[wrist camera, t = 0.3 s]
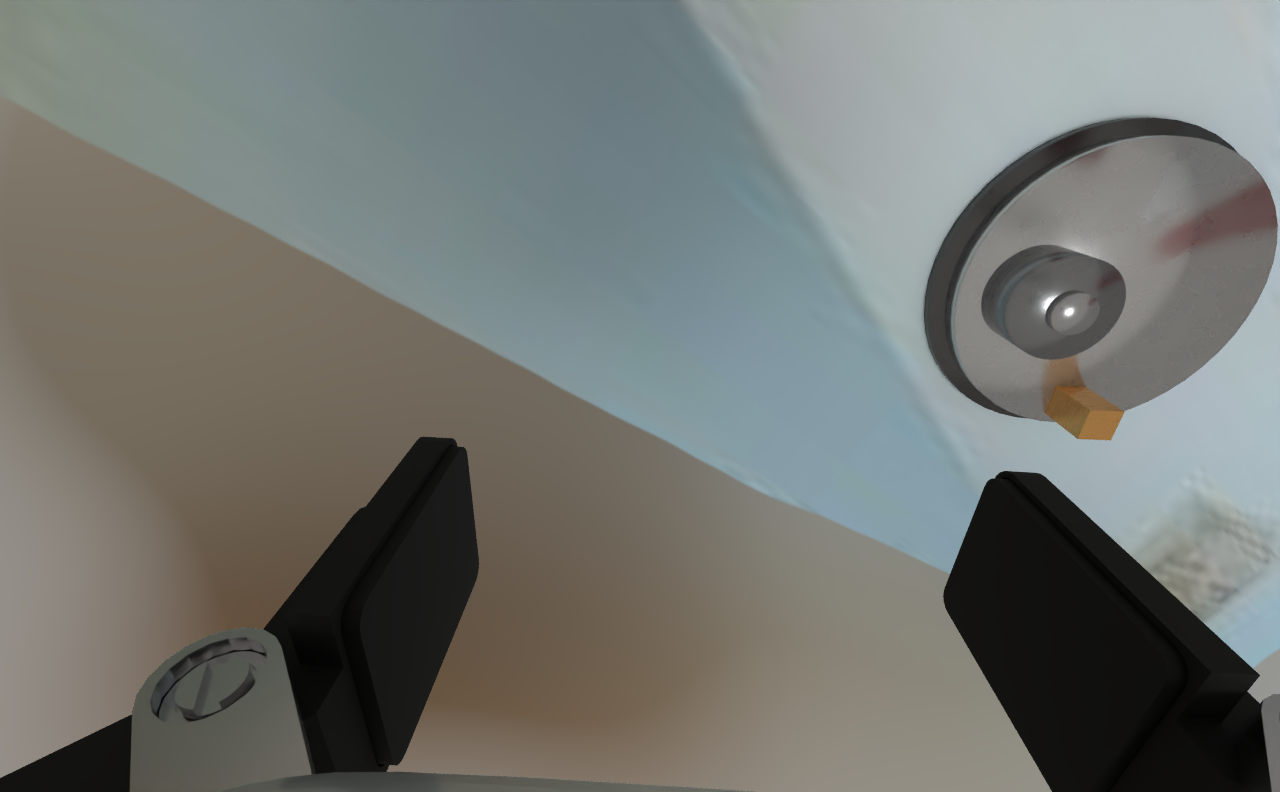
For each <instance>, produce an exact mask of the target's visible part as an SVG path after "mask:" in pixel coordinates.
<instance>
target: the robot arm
mask: <svg viewBox="0 0 1280 792" xmlns="http://www.w3.org/2000/svg"><path fill="white" fill-rule="evenodd" d="M478 569H479V557H478V549H477V539H476V531H475V521H474V512H473V503H472V494H471V484H470V475H469V466H468V457H467V451H466V449H465V448H464V447H457V443H456V441H455V440H454V439H453V438H436V437H420V438H419V439H418V440H417V441H416V443H415V444H414V445H413V447H412V448H411V449H410V450H409V452H408V453H407V454H406V456H405V457H404V458H403V459H402V461H401V462H400V463H399V464H398V466H397V467H396V468H395V470H394V471H393V472H392V473H391V475H390V476H389V477H388V479H387V480H386V481H385V482H384V484H383V485H382V486H381V488H380V489H379V490H378V492H377V493H376V494H375V496H374V497H373V498H372V499H371V501H370V502H369V503H368V504H367V506H366V507H364V508H361V509H359V511H357V512H356V513H355V514H354V515H353V517H352V518H351V519H350V520H349V522H348V523H347V524H346V525H345V527H344V528H343V529H342V530H341V532H340V533H339V534H338V535H337V537H336V538H335V539H334V541H333V542H332V543H331V544H330V546H329V547H328V548H327V549H326V551H325V552H324V553H323V554H322V556H321V557H320V558H319V560H318V561H317V562H316V563H315V565H314V566H313V567H312V568H311V570H310V571H309V572H308V574H307V575H306V576H305V577H304V578H303V580H302V581H301V582H300V584H299V585H298V586H297V587H296V589H295V590H294V591H293V592H292V594H291V595H290V596H289V598H288V599H287V600H286V601H285V602H284V604H283V605H282V606H281V608H280V609H279V610H278V611H277V613H276V614H275V615H274V616H273V618H272V619H271V620H270V621H269V623H268V624H267V625H266V627H265V628H264V629H263V630H262V629H255V628H239V629H230V630H226V631H222V632H219V633H216V634H213V635H209V636H207V637H204V638H202V639H201V640H198V641H196V642H194V643H192V644H190V645H188V646H186V647H184V648H183V649H182V650H180V651H179V652H177V653H176V654H174V655H173V656H171V657H170V658H169V659H167V660H166V661H165V662H164V663H162V664H161V665H160V666H159V667H158V668H157V669H156V670H155V671H154V672H153V673H152V674H151V675H150V676H149V677H148V678H147V680H146V681H145V683H144V684H143V686H142V688H141V689H140V690H139V692H138V693H137V695H136V699H135V703H134V707H133V710H132V715H130V716H128V717H126V718H124V719H122V720H119V721H118V722H115V723H113V724H111V725H109V726H107V727H105V728H103V729H101V730H99V731H97V732H95V733H93V734H91V735H88V736H86V737H84V738H83V739H80V740H78V741H76V742H74V743H72V744H70V745H68V746H66V747H64V748H62V749H59V750H57V751H55V752H53V753H51V754H49V755H47V756H45V757H43V758H41V759H39V760H37V761H35V762H33V763H31V764H28V765H26V766H25V767H22V768H20V769H18V770H16V771H14V772H12V773H10V774H8V775H6V776H4V777H2V778H0V792H753V791H738V790H737V791H736V790H722V789H708V788H691V787H675V786H659V785H642V784H626V783H625V784H624V783H609V782H593V781H577V780H576V781H575V780H560V779H544V778H528V777H507V776H484V775H460V774H437V773H414V772H387V769H388V767H389V765H398V764H399V763H400V762H401V760H402V759H403V757H404V755H405V753H406V750H407V748H408V746H409V743H410V741H411V738H412V736H413V733H414V731H415V728H416V726H417V724H418V721H419V719H420V716H421V714H422V711H423V709H424V706H425V704H426V701H427V699H428V697H429V694H430V692H431V689H432V687H433V685H434V682H435V680H436V677H437V675H438V672H439V670H440V667H441V665H442V663H443V660H444V658H445V655H446V653H447V650H448V648H449V645H450V643H451V640H452V638H453V636H454V633H455V631H456V628H457V626H458V623H459V621H460V619H461V616H462V613H463V611H464V609H465V606H466V604H467V601H468V599H469V597H470V594H471V592H472V589H473V587H474V584H475V582H476V579H477V575H478ZM943 597H944V604H945V608H946V610H947V612H948V614H949V615H950V617H951V619H952V620H953V622H954V624H955V626H956V627H957V629H958V631H959V633H960V634H961V636H962V638H963V639H964V641H965V643H966V645H967V646H968V648H969V650H970V651H971V653H972V655H973V657H974V658H975V660H976V662H977V663H978V665H979V667H980V669H981V670H982V672H983V674H984V675H985V677H986V679H987V680H988V682H989V684H990V686H991V687H992V689H993V691H994V693H995V694H996V696H997V698H998V700H999V701H1000V703H1001V705H1002V706H1003V708H1004V709H1005V711H1006V713H1007V715H1008V717H1009V718H1010V720H1011V722H1012V723H1013V725H1014V727H1015V729H1016V730H1017V732H1018V734H1019V736H1020V737H1021V739H1022V741H1023V742H1024V744H1025V746H1026V747H1027V749H1028V751H1029V753H1030V754H1031V756H1032V757H1033V760H1034V761H1035V763H1036V765H1037V766H1038V768H1039V770H1040V771H1041V773H1042V775H1043V777H1044V778H1045V780H1046V782H1047V784H1048V785H1049V787H1050V789H1051V790H1052V792H1280V694H1273V695H1271V696H1269V697H1268V698H1266V699H1264V700H1263V701H1262V702H1261V703H1259V702H1257V701H1256V700H1255V699H1254V698H1253V697H1252V696H1251V695H1250V694H1249V693H1248V692H1247V691H1248V690H1249V688H1250V687H1251V686H1252V685H1253V683H1254V682H1255V681H1256V680H1257V679H1258V677H1259V676H1260V675H1259V674H1258V673H1257V672H1256V671H1255V670H1254V669H1253V668H1251V667H1250V666H1249V665H1248V664H1247V663H1246V662H1245V661H1244V660H1243V659H1242V658H1241V657H1240V656H1238V655H1237V654H1236V653H1235V652H1234V651H1233V650H1232V649H1231V648H1230V647H1229V646H1228V645H1227V644H1226V643H1224V642H1223V641H1222V640H1221V639H1220V638H1219V637H1218V636H1217V635H1216V634H1215V633H1214V632H1213V631H1211V630H1210V629H1209V628H1208V627H1207V626H1206V625H1205V624H1204V623H1203V622H1202V621H1201V620H1200V619H1198V618H1197V617H1196V616H1195V615H1194V614H1193V613H1192V612H1191V611H1190V610H1189V609H1188V608H1187V607H1185V606H1184V605H1183V604H1182V603H1181V602H1180V601H1179V600H1178V599H1177V598H1176V597H1175V596H1174V595H1172V594H1171V593H1170V592H1169V591H1168V590H1167V589H1166V588H1165V587H1164V586H1163V585H1162V584H1161V583H1159V582H1158V581H1157V580H1156V579H1155V578H1154V577H1153V576H1152V575H1151V574H1150V573H1149V572H1148V571H1146V570H1145V569H1144V568H1143V567H1142V566H1141V565H1140V564H1139V563H1138V562H1137V561H1136V560H1135V559H1133V558H1132V557H1131V556H1130V555H1129V554H1128V553H1127V552H1126V551H1125V550H1124V549H1123V548H1122V547H1120V546H1119V545H1118V544H1117V543H1116V542H1115V541H1114V540H1113V539H1112V538H1111V537H1110V536H1109V535H1107V534H1106V533H1105V532H1104V531H1103V530H1102V529H1101V528H1100V527H1099V526H1098V525H1097V524H1096V523H1094V522H1093V521H1092V520H1091V519H1090V518H1089V517H1088V516H1087V515H1086V514H1085V513H1084V512H1083V511H1082V510H1080V509H1079V508H1078V507H1077V506H1076V505H1075V504H1074V503H1073V502H1072V501H1071V500H1070V499H1069V498H1067V497H1066V496H1065V495H1064V494H1063V493H1062V492H1061V491H1060V490H1059V489H1058V488H1057V487H1056V486H1054V485H1053V484H1052V483H1051V482H1050V481H1049V480H1048V479H1047V478H1046V477H1044V476H1043V475H1041V474H1038V473H1029V472H1012V471H1004V472H1000V473H999V474H998V475H997V476H996V477H995V479H990V480H989V481H988V482H987V483H986V485H985V487H984V490H983V492H982V495H981V497H980V500H979V502H978V505H977V507H976V510H975V512H974V515H973V517H972V520H971V523H970V525H969V528H968V530H967V533H966V535H965V538H964V540H963V543H962V545H961V548H960V551H959V553H958V556H957V558H956V561H955V563H954V566H953V568H952V571H951V573H950V576H949V579H948V581H947V584H946V586H945V590H944V596H943Z"/></svg>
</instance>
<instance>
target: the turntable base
mask: <svg viewBox="0 0 1280 792" xmlns="http://www.w3.org/2000/svg"><path fill="white" fill-rule="evenodd" d="M1136 135H1168V136H1183V137H1193V138H1200V139H1204V140H1207V141H1211V142H1215V143H1218V144H1220V145H1222V146H1225V147H1227V148H1229V149H1231V150H1233V151H1235V152H1236V153H1237V151H1236V150H1235V149H1234V148H1233V147H1232V146H1231V145H1230V144H1228V143H1227V142H1226V141H1224V140H1223V139H1222V138H1220V137H1219V136H1217V135H1216V134H1214V133H1212V132H1210V131H1208V130H1206V129H1203V128H1201V127H1199V126H1197V125H1193V124H1189V123H1185V122H1182V121H1178V120H1169V119H1159V118H1132V119H1118V120H1112V121H1107V122H1101V123H1096V124H1093V125H1089V126H1086V127H1083V128H1079V129H1076V130H1073V131H1071V132H1068V133H1066V134H1064V135H1061V136H1059V137H1057V138H1054V139H1052V140H1050V141H1048V142H1046V143H1044V144H1043V145H1041V146H1039V147H1037V148H1036V149H1034V150H1032V151H1030V152H1028V153H1027V154H1025V155H1024V156H1023V157H1021V158H1020V159H1018V160H1017V161H1015V162H1014V163H1013V164H1011V165H1010V166H1008V167H1007V168H1006V169H1005V170H1003V171H1002V172H1001V173H1000V174H999V175H998V176H996V177H995V178H994V179H993V180H992V181H991V182H990V183H988V184H987V185H986V186H985V187H984V189H983V190H982V191H981V192H980V193H979V194H978V195H977V196H976V197H975V198H974V199H973V200H972V201H971V202H970V204H969V205H968V206H967V208H966V209H965V210H964V211H963V213H962V214H961V215H960V217H959V218H958V219H957V221H956V222H955V224H954V225H953V227H952V229H951V230H950V232H949V234H948V235H947V237H946V238H945V240H944V242H943V244H942V246H941V249H940V251H939V253H938V255H937V257H936V259H935V262H934V265H933V268H932V271H931V274H930V277H929V281H928V286H927V291H926V296H925V310H924V319H925V331H926V336H927V340H928V344H929V348H930V350H931V352H932V355H933V357H934V359H935V362H936V363H937V365H938V366H939V368H940V369H941V371H942V373H943V374H944V375H945V376H946V378H947V379H948V380H949V381H950V382H951V383H952V384H953V385H954V386H955V387H956V388H957V389H958V390H959V391H960V392H962V393H963V394H964V395H966V396H967V397H968V398H969V399H971V400H972V401H974V402H976V403H978V404H979V405H981V406H983V407H985V408H987V409H990V410H993V411H995V412H998V413H1001V414H1005V415H1009V416H1014V417H1020V418H1026V417H1022V416H1020V415H1017V414H1014V413H1011V412H1009V411H1007V410H1005V409H1003V408H1002V407H1000V406H998V405H996V404H995V403H993V402H992V401H991V400H990V399H988V398H987V397H986V396H985V395H983V394H982V393H981V392H980V391H979V390H978V389H976V388H975V387H974V386H973V385H972V384H971V383H970V382H969V381H968V380H967V379H966V378H965V376H964V375H963V374H962V373H961V371H960V370H959V368H958V367H957V365H956V363H955V362H954V359H953V357H952V354H951V352H950V350H949V346H948V342H947V338H946V332H945V305H946V298H947V293H948V289H949V284H950V281H951V278H952V275H953V273H954V270H955V267H956V265H957V262H958V260H959V258H960V256H961V254H962V252H963V250H964V248H965V246H966V245H967V243H968V242H969V240H970V239H971V237H972V235H973V234H974V232H975V231H976V229H977V228H978V227H979V225H980V224H981V223H982V222H983V220H984V219H985V218H986V217H987V215H988V214H989V213H990V212H991V211H992V210H993V209H994V208H995V207H996V206H997V204H998V203H999V202H1000V201H1001V200H1002V199H1003V198H1004V197H1005V196H1006V195H1007V194H1009V193H1010V192H1011V191H1012V190H1013V189H1015V188H1016V187H1017V186H1018V185H1019V184H1020V183H1022V182H1023V181H1024V180H1025V179H1027V178H1028V177H1030V176H1031V175H1033V174H1034V173H1036V172H1037V171H1038V170H1040V169H1041V168H1043V167H1044V166H1046V165H1048V164H1050V163H1052V162H1054V161H1055V160H1057V159H1059V158H1061V157H1063V156H1064V155H1067V154H1069V153H1071V152H1074V151H1076V150H1079V149H1081V148H1083V147H1086V146H1089V145H1092V144H1095V143H1099V142H1102V141H1105V140H1109V139H1115V138H1120V137H1126V136H1136Z"/></svg>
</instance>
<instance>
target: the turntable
mask: <svg viewBox="0 0 1280 792" xmlns="http://www.w3.org/2000/svg"><path fill="white" fill-rule="evenodd" d="M1277 227H1278V224H1277V217H1276V209H1275V205H1274V202H1273V199H1272V196H1271V193H1270V190H1269V188H1268V186H1267V185H1266V183H1265V181H1264V179H1263V178H1262V176H1261V175H1260V173H1259V172H1258V171H1257V170H1256V169H1255V168H1254V167H1253V166H1252V164H1251V163H1250V162H1249V161H1247V160H1246V159H1245V158H1243V157H1242V156H1240V155H1239V154H1238V153H1236V152H1235V151H1233V150H1231V149H1229V148H1227V147H1225V146H1222V145H1220V144H1218V143H1215V142H1211V141H1207V140H1204V139H1200V138H1193V137H1183V136H1168V135H1136V136H1126V137H1120V138H1115V139H1109V140H1105V141H1102V142H1099V143H1095V144H1092V145H1089V146H1086V147H1083V148H1081V149H1079V150H1076V151H1074V152H1071V153H1069V154H1067V155H1064V156H1063V157H1061V158H1059V159H1057V160H1055V161H1054V162H1052V163H1050V164H1048V165H1046V166H1044V167H1043V168H1041V169H1040V170H1038V171H1037V172H1036V173H1034V174H1033V175H1031V176H1030V177H1028V178H1027V179H1025V180H1024V181H1023V182H1022V183H1020V184H1019V185H1018V186H1017V187H1016V188H1015V189H1013V190H1012V191H1011V192H1010V193H1009V194H1007V195H1006V196H1005V197H1004V198H1003V199H1002V200H1001V201H1000V202H999V203H998V204H997V206H996V207H995V208H994V209H993V210H992V211H991V212H990V213H989V214H988V215H987V217H986V218H985V219H984V220H983V222H982V223H981V224H980V225H979V227H978V228H977V229H976V231H975V232H974V234H973V235H972V237H971V239H970V240H969V242H968V243H967V245H966V246H965V248H964V250H963V252H962V254H961V256H960V258H959V260H958V262H957V265H956V267H955V270H954V273H953V275H952V278H951V281H950V284H949V289H948V293H947V298H946V305H945V332H946V338H947V342H948V346H949V350H950V352H951V354H952V357H953V359H954V362H955V363H956V365H957V367H958V368H959V370H960V371H961V373H962V374H963V375H964V376H965V378H966V379H967V380H968V381H969V382H970V383H971V384H972V385H973V386H974V387H975V388H976V389H978V390H979V391H980V392H981V393H982V394H983V395H985V396H986V397H987V398H988V399H990V400H991V401H992V402H993V403H995V404H996V405H998V406H1000V407H1002V408H1003V409H1005V410H1007V411H1009V412H1011V413H1014V414H1017V415H1020V416H1022V417H1026V418H1030V419H1035V420H1039V421H1050V422H1057V423H1058V424H1059V425H1061V426H1062V427H1063V428H1064V429H1066V430H1067V431H1068V432H1070V433H1071V434H1072V435H1073V436H1075V437H1076V438H1077V439H1094V440H1111V439H1112V437H1113V435H1114V432H1115V430H1116V428H1117V426H1118V424H1119V422H1120V420H1121V418H1122V416H1123V414H1124V411H1125V410H1129V409H1131V408H1134V407H1136V406H1138V405H1141V404H1143V403H1145V402H1148V401H1150V400H1152V399H1154V398H1155V397H1157V396H1159V395H1161V394H1163V393H1165V392H1167V391H1168V390H1170V389H1172V388H1173V387H1175V386H1176V385H1178V384H1179V383H1181V382H1183V381H1184V380H1186V379H1187V378H1188V377H1189V376H1191V375H1192V374H1193V373H1195V372H1196V371H1197V370H1199V369H1200V368H1201V367H1203V366H1204V365H1205V364H1206V363H1207V362H1208V361H1209V360H1210V359H1211V358H1212V357H1214V356H1215V355H1216V354H1217V353H1218V352H1219V351H1220V350H1221V349H1222V348H1223V347H1224V346H1225V344H1226V343H1227V342H1228V341H1229V340H1230V339H1231V338H1232V337H1233V336H1234V334H1235V333H1236V332H1237V331H1238V329H1239V328H1240V327H1241V325H1242V324H1243V323H1244V321H1245V320H1246V319H1247V317H1248V316H1249V314H1250V312H1251V311H1252V309H1253V307H1254V306H1255V304H1256V303H1257V301H1258V299H1259V297H1260V295H1261V293H1262V291H1263V289H1264V286H1265V284H1266V282H1267V279H1268V276H1269V273H1270V271H1271V268H1272V265H1273V261H1274V256H1275V251H1276V245H1277ZM1039 245H1057V246H1061V247H1064V248H1067V249H1070V250H1073V251H1076V252H1079V253H1082V254H1085V255H1088V256H1091V257H1094V258H1097V259H1100V260H1103V261H1106V262H1108V263H1110V264H1111V265H1113V266H1114V267H1115V268H1116V269H1117V270H1118V271H1119V272H1120V274H1121V275H1122V277H1123V279H1124V282H1125V286H1126V300H1125V305H1124V308H1123V311H1122V313H1121V315H1120V317H1119V319H1118V321H1117V322H1116V324H1115V325H1114V327H1113V328H1112V329H1111V330H1110V332H1109V333H1108V334H1107V335H1106V336H1105V337H1104V338H1102V339H1101V340H1100V341H1099V342H1098V343H1096V344H1095V345H1093V346H1092V347H1090V348H1089V349H1087V350H1085V351H1083V352H1081V353H1079V354H1077V355H1074V356H1071V357H1067V358H1063V359H1055V360H1047V359H1040V358H1036V357H1033V356H1031V355H1029V354H1027V353H1026V352H1024V351H1022V350H1021V349H1019V348H1018V347H1016V346H1015V345H1013V344H1012V343H1010V342H1009V341H1007V340H1006V339H1004V338H1003V337H1001V336H999V335H998V334H996V333H995V332H994V331H992V330H991V329H990V328H989V327H988V326H987V324H986V322H985V321H984V318H983V316H982V311H981V299H982V294H983V291H984V288H985V286H986V284H987V282H988V280H989V278H990V277H991V276H992V274H993V273H994V272H995V270H996V269H997V268H998V267H999V266H1000V265H1001V264H1002V263H1003V262H1005V261H1006V260H1007V259H1008V258H1010V257H1011V256H1013V255H1014V254H1016V253H1018V252H1020V251H1022V250H1025V249H1027V248H1030V247H1034V246H1039Z"/></svg>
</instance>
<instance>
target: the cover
mask: <svg viewBox="0 0 1280 792" xmlns="http://www.w3.org/2000/svg"><path fill="white" fill-rule="evenodd" d="M1125 300H1126V286H1125V282H1124V279H1123V277H1122V275H1121V274H1120V272H1119V271H1118V270H1117V269H1116V268H1115V267H1114V266H1113V265H1111V264H1110V263H1108V262H1106V261H1103V260H1100V259H1097V258H1094V257H1091V256H1088V255H1085V254H1082V253H1079V252H1076V251H1073V250H1070V249H1067V248H1064V247H1061V246H1057V245H1039V246H1034V247H1030V248H1027V249H1025V250H1022V251H1020V252H1018V253H1016V254H1014V255H1013V256H1011V257H1010V258H1008V259H1007V260H1006V261H1005V262H1003V263H1002V264H1001V265H1000V266H999V267H998V268H997V269H996V270H995V272H994V273H993V274H992V276H991V277H990V278H989V280H988V282H987V284H986V286H985V288H984V291H983V294H982V299H981V311H982V316H983V318H984V321H985V322H986V324H987V326H988V327H989V328H990V329H991V330H992V331H994V332H995V333H996V334H998V335H999V336H1001V337H1003V338H1004V339H1006V340H1007V341H1009V342H1010V343H1012V344H1013V345H1015V346H1016V347H1018V348H1019V349H1021V350H1022V351H1024V352H1026V353H1027V354H1029V355H1031V356H1033V357H1036V358H1040V359H1047V360H1055V359H1063V358H1067V357H1071V356H1074V355H1077V354H1079V353H1081V352H1083V351H1085V350H1087V349H1089V348H1090V347H1092V346H1093V345H1095V344H1096V343H1098V342H1099V341H1100V340H1101V339H1102V338H1104V337H1105V336H1106V335H1107V334H1108V333H1109V332H1110V330H1111V329H1112V328H1113V327H1114V325H1115V324H1116V322H1117V321H1118V319H1119V317H1120V315H1121V313H1122V311H1123V308H1124V305H1125Z"/></svg>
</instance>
